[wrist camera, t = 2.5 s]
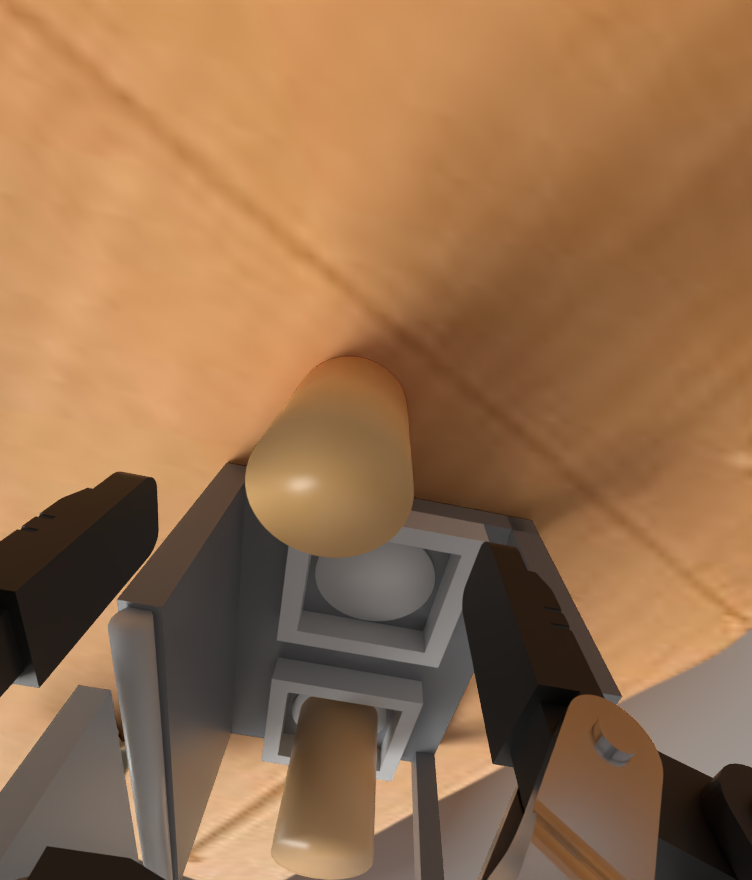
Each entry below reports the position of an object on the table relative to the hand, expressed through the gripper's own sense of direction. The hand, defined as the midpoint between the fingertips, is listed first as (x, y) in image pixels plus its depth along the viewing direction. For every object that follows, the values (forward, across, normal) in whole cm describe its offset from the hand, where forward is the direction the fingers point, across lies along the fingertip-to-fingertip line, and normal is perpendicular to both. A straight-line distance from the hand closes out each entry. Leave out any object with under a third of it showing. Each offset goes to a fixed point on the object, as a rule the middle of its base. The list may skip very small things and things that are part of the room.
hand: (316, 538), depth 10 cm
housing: (+8, -2, +12) cm, 15 cm away
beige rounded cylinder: (+7, 0, -1) cm, 7 cm away
